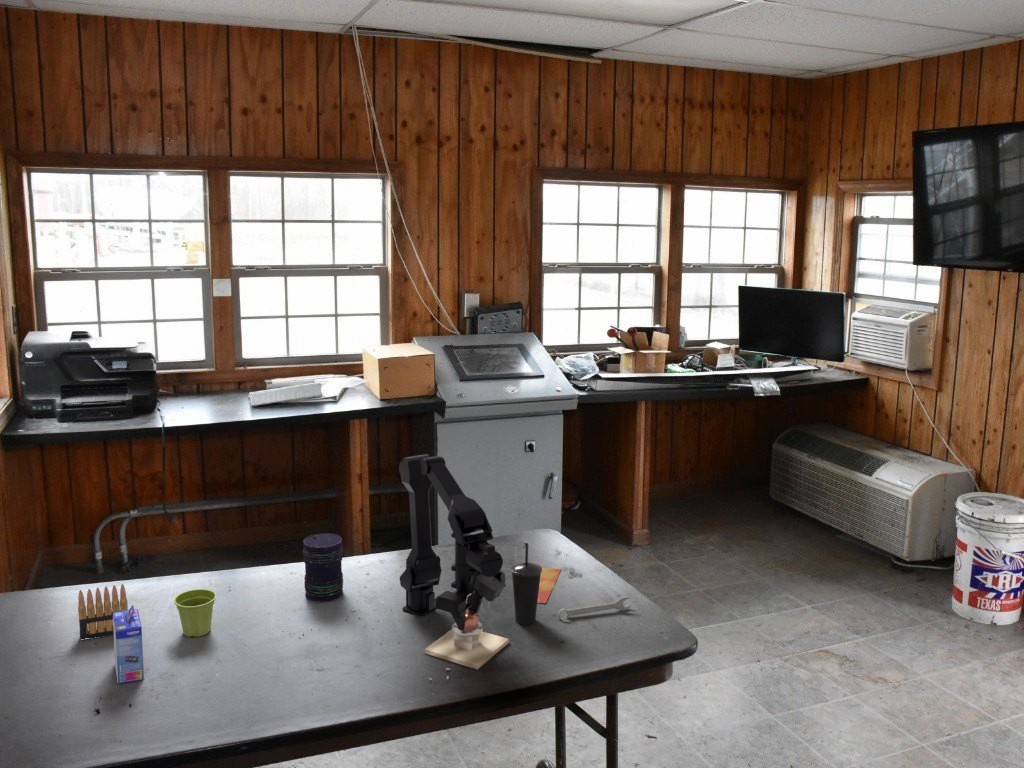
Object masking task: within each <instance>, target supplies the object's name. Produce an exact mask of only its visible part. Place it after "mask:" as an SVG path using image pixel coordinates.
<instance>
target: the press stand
mask: <svg viewBox="0 0 1024 768" xmlns="http://www.w3.org/2000/svg"><path fill="white" fill-rule="evenodd" d="M509 640H510V638H506V637H503V636H499V635H497V634H493V633H489V632H486V631H483V630H482V632H481V633H480V634H478V635H475V636H469V637H466V636H459V635H457V634H455V633H454V632H453V631H452V628H451V629H450V630H449V631H447V632H446V633H445V634H443V635H442V636H441V637H439V638H438V639H437V640H435V641H433V642H432V643H431V644H429V645H428V646H427V647H426V648H424V654H425V655H429V656H432V657H436V658H438V659H441V660H446V661H449V662H452V663H456V664H458V665H462V666H464V667H469V668H471V669H474V670H477V671H478V670H479V669H480V668H482V667H483V666H484V665H485V664H486V663H487V662H488V661H489V660H491V659H492V658H493V657H494V656H495V655H496V654H498V653H499V652H500V651H501V650H502V649H503V648H505V647H506V646H507V645H508V644H510V643H509Z"/></svg>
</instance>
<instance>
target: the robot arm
mask: <svg viewBox="0 0 1024 768" xmlns="http://www.w3.org/2000/svg"><path fill="white" fill-rule="evenodd" d="M398 472H399V474H400V478H401V479H400V480H401V483H402V484H403V485H404V487H405V488H406V490H407V492H408V499H409V516H410V517H409V521H410V533H411V534H410V535H411V537H410V538H411V550H410V552H409V554H408V556H407V558H406V562H405V569H404V571H403V572H402V573H401V575H400V576H399V583H400V587H402V588H403V589H404V590H405V605H404V606H403V607H402V611H405V612H409V613H412V614H416V615H420V616H425V615H426V614H428V613H429V612H431V611H432V610H434V609H436V610H439V611H444V612H448V613H450V615H451V616H452V618H453V621H454V623H456V624H457V626H458V628H459V629H460V630H464V626H465V617H466V610H473V611H475V612H477V613H478V614H479V611H480V608H481V606H482V603H483V600H484V599H485V600H486V601H488V602H491V603H492V602H494V601H495V600H496V599H497V598H499V597H500V596H501V593H502V591H503V589H504V588H506V587H507V586H506V585H507V584H506V574H505V572H503V571H501V569H502V568H503V565H504V559H503V558H502V555H501V553H499V552H498V551H496V546H495V545H494V544H493V543H492V544H491V543H489V542H488V541H490V540H494V535H493V533H492V532H493V529H492V526H491V524H490V522H489V520H488V517H487V515H486V512H485V511H484V509H483V508H482V507H481V506H480V504H479V503H478V502H477V501H476V500H475V499H472V498H471V497H468V496H466V494H465V493H464V492H463V490H462V488H461V487H460V485H459V484H458V482H457V480H456V479H455V478H454V476H453V474H452V473H451V471H450V470H449V469H448V467H447V465H446V460H445V459H444V457H443V456H439V455H437V456H431V455H429V454H428V453H425V454H421V455H413V456H407V457H403V458H402V460H401V461H400V462H399V465H398ZM432 486H433V488H434V489H435V490H436V493H438V496H439V497H440V499H441V500H442V502H443V504H444V506H445V507H446V509H447V511H448V513H447V521H448V523H449V526H450V529H451V531H452V533H451V535H450V536H451V538H453V539H454V541H455V542H454V543H455V544H454V552H455V553H454V564H452V565H451V568H450V570H451V571H452V572H454V581H452V582H451V585H450V588H452V589H455V591H454V592H453V591H449V590H445V591H443V592H441V594H439V595H438V596H435V594H436V593H435V592H434V586H439V584H440V582H441V581H440V580H441V575H442V567H441V557H440V556H439V555H437V554H436V552H435V551H434V549H433V545H432V527H431V508H430V507H431V506H430V490H431V487H432ZM481 531H482V532H481ZM476 532H477V533H476Z"/></svg>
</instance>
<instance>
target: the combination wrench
mask: <svg viewBox="0 0 1024 768" xmlns="http://www.w3.org/2000/svg"><path fill="white" fill-rule="evenodd" d="M629 599H630V597H629V596H620V597H619V598H618V599H617V600H616V601H614V602H611V603H603V604H598V605H597V604H596V605H589V606H584V607H577V608H567V609H566V608H561V609H559V611H558V612H557V618H558V619H559V620H560V621H563V620H567V619H569V618H570V617H572V616H578V615H585V614H590V613H595V612H602V611H607V610H612V609H613V610H614V609H615V610H619V611H620V612H621V611H622V612H623V611H627V610H629V608H631V606H632V604H627V605H624V602H626V601H627V600H629ZM563 612H566V614H565V616H564V617H561V614H562V613H563Z"/></svg>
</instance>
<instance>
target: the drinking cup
mask: <svg viewBox="0 0 1024 768" xmlns="http://www.w3.org/2000/svg"><path fill="white" fill-rule="evenodd" d="M524 550H525V551H524V552H525V553H524V558H525V559H524V561H522V562H521V561H520V562H517V563H515V564H513V565H512V566H510V572H511V575H512V576H511V579H512V591H513V602H514V615H515V622H516V623H517V624H519V625H522V626H529V625H533V624H534V623H535V622H536V618H537V609H538V608H537V607H538V603H537V601H538V593H539V584H540V576H541V572H542V568H543V567H542V566H541V565H540V564H538V563H535V562H531V561H529V543H527V542H526V543H525V549H524Z"/></svg>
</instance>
